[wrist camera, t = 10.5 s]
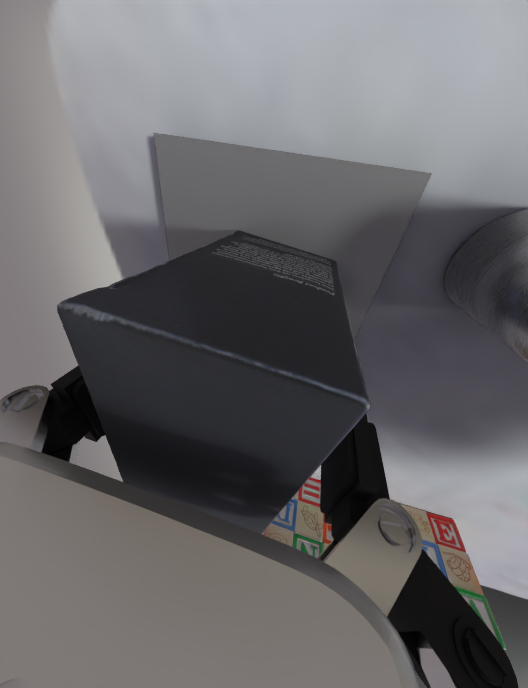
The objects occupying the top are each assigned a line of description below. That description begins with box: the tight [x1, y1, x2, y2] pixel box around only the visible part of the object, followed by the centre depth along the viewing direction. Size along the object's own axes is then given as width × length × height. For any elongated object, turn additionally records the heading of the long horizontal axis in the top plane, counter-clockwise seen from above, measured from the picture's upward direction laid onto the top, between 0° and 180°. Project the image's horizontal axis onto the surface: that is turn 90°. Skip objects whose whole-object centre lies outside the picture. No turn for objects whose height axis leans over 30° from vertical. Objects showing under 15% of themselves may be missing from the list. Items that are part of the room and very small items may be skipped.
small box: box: [57, 230, 370, 534], centre depth 11 cm, size 11×6×10 cm, turn 167°
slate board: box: [154, 133, 432, 339], centre depth 16 cm, size 13×18×1 cm
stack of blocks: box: [264, 478, 506, 650], centre depth 24 cm, size 21×6×12 cm, turn 85°
